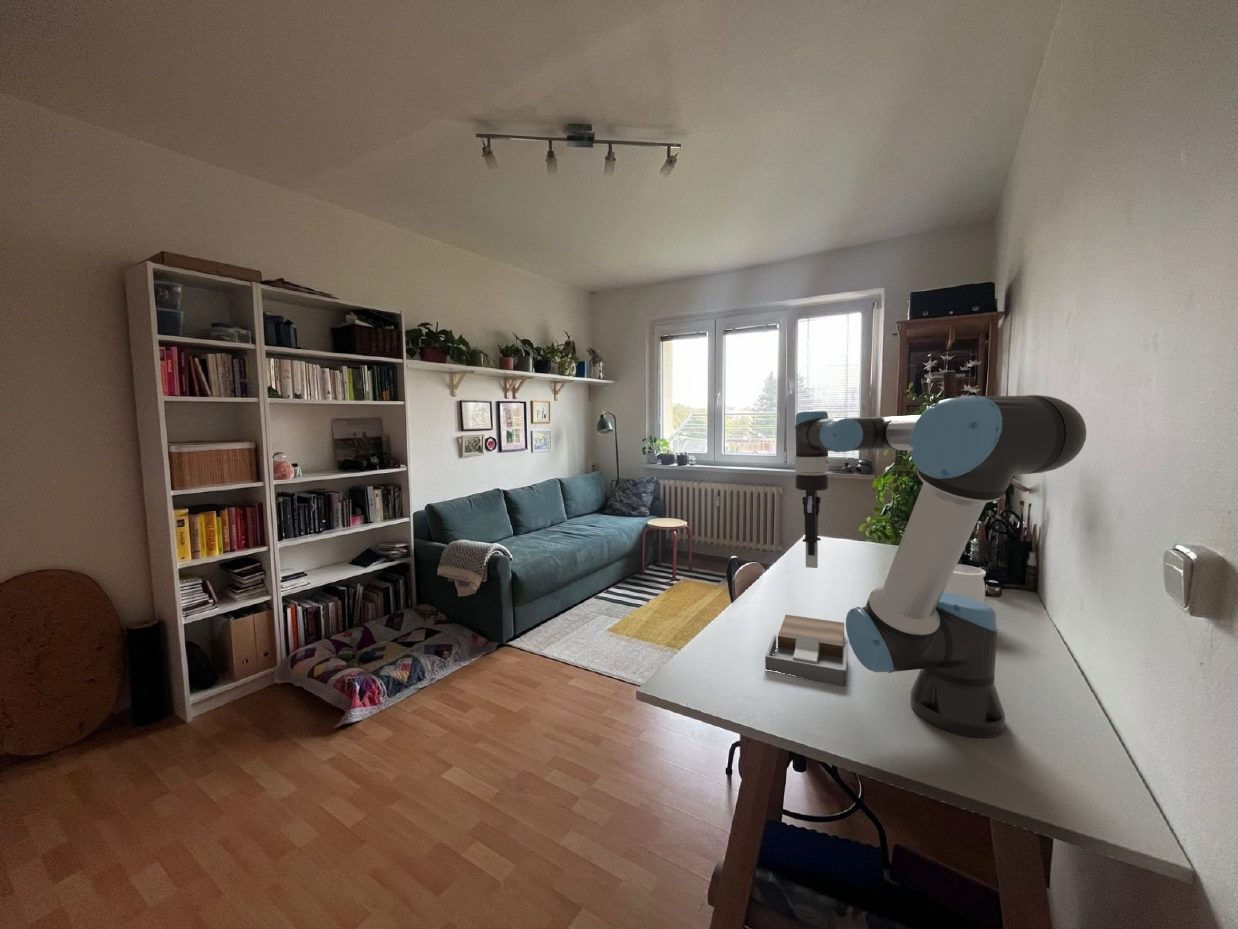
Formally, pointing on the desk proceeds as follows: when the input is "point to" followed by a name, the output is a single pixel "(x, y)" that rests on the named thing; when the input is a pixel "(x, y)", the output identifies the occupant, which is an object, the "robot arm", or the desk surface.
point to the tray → (807, 665)
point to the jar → (967, 582)
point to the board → (813, 634)
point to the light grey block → (806, 656)
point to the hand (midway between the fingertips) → (811, 566)
